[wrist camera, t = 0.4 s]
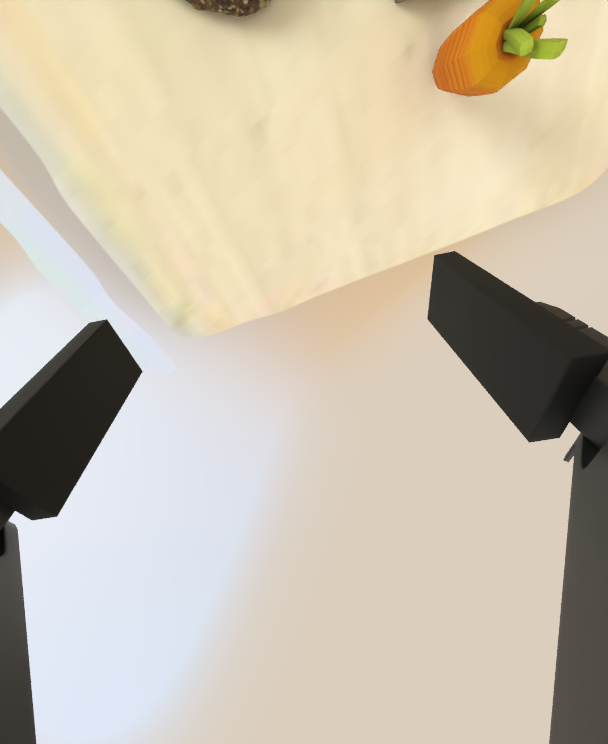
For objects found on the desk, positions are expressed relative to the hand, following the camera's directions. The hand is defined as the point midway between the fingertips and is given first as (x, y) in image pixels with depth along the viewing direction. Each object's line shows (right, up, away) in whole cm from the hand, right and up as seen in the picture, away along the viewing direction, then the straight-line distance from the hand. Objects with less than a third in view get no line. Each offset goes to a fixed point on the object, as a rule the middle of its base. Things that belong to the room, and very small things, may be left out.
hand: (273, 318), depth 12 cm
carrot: (+14, +27, +16) cm, 34 cm away
